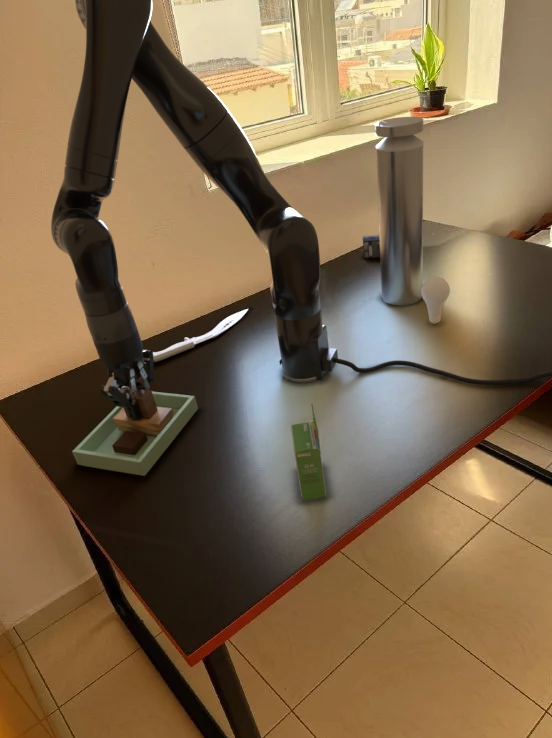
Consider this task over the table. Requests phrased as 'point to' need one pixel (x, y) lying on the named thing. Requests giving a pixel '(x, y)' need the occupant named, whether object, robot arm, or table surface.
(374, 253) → the mini dv tape
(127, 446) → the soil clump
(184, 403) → the tray
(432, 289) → the lightbulb
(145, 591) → the table surface
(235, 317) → the knife
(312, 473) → the ink box
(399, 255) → the silver metal canister
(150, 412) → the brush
